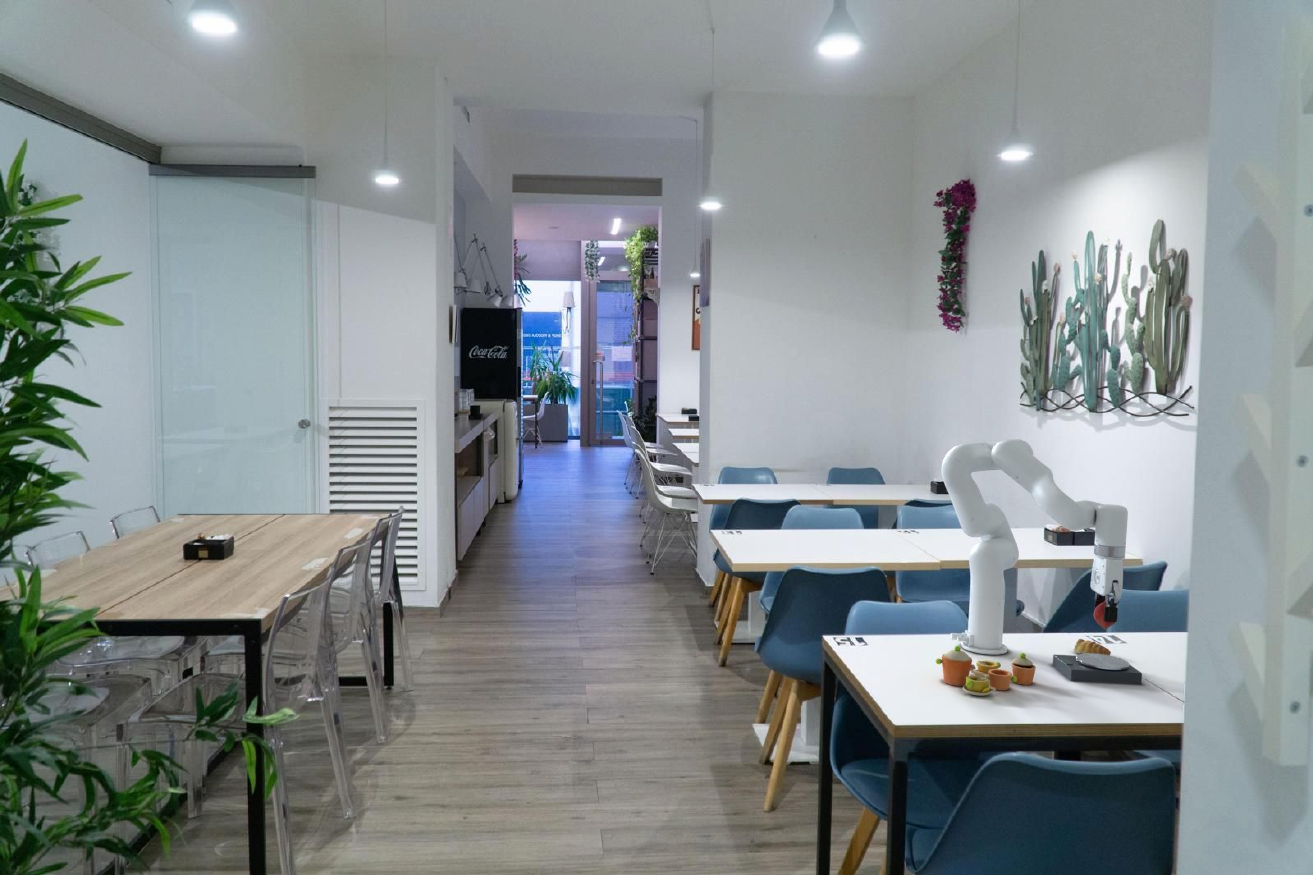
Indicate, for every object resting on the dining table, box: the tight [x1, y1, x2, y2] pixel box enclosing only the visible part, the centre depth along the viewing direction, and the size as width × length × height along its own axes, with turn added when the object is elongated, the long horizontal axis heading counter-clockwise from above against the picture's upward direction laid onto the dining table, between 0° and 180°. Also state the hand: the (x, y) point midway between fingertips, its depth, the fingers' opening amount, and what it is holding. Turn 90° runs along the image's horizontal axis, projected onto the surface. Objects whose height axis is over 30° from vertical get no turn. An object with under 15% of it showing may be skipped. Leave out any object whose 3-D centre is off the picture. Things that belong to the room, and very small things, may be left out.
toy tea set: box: [935, 645, 1037, 697], centre depth 253 cm, size 26×16×10 cm, turn 122°
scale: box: [1052, 654, 1143, 685], centre depth 265 cm, size 18×14×3 cm
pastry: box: [1073, 638, 1112, 656], centre depth 283 cm, size 9×7×4 cm
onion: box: [1093, 600, 1119, 630], centre depth 263 cm, size 6×6×8 cm
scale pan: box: [1075, 653, 1130, 670], centre depth 264 cm, size 13×13×1 cm
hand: (1105, 617), depth 263 cm, fingers closed on onion, 6 cm apart
